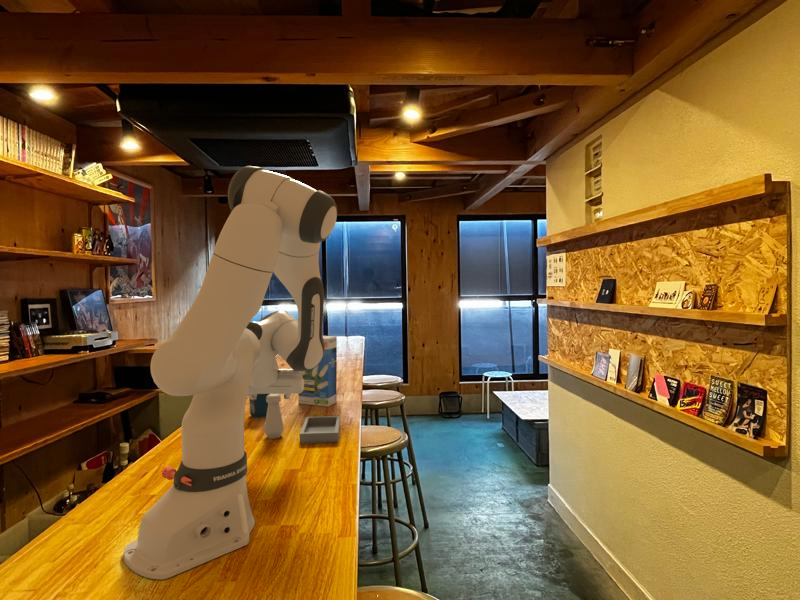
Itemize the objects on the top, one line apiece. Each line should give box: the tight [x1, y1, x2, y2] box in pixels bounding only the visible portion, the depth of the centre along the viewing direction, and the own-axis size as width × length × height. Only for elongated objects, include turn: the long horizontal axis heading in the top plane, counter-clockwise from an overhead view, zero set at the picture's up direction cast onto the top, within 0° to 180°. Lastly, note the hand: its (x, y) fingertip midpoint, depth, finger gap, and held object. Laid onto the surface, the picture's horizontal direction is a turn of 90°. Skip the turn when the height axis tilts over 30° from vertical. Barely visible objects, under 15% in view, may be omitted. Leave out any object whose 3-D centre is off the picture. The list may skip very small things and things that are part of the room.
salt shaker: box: [263, 394, 285, 440], centre depth 140 cm, size 6×6×13 cm
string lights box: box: [297, 335, 338, 407], centre depth 176 cm, size 13×8×26 cm, turn 72°
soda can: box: [248, 394, 269, 419], centre depth 161 cm, size 7×7×12 cm
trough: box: [299, 415, 341, 445], centre depth 142 cm, size 16×11×3 cm
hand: (270, 397), depth 131 cm, fingers open, 8 cm apart
